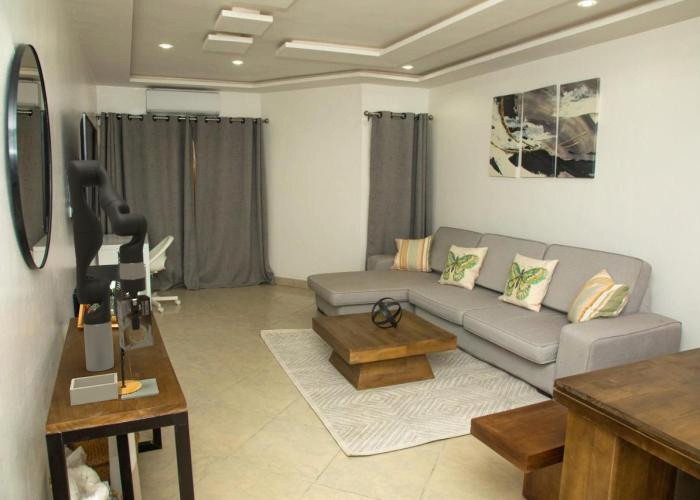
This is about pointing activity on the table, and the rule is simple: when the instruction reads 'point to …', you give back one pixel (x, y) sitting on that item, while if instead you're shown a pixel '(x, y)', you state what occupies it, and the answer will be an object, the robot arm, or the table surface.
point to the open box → (94, 389)
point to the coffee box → (126, 334)
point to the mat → (144, 390)
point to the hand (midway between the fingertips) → (135, 326)
